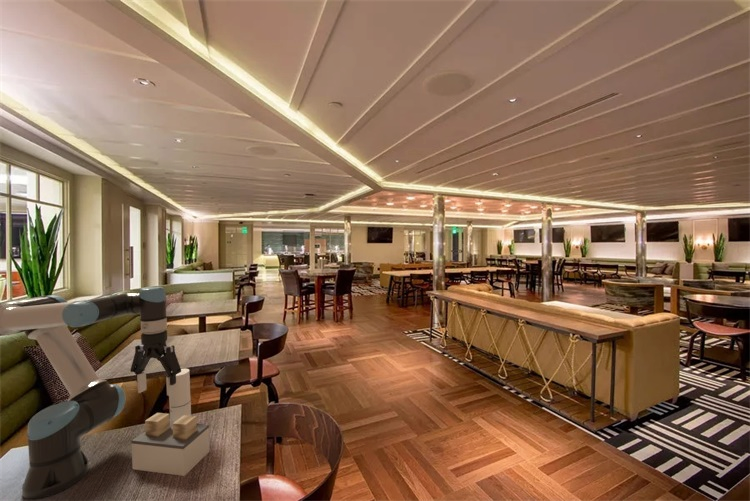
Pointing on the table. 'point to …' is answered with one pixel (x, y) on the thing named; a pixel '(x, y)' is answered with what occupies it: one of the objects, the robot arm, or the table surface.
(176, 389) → the cylindrical container
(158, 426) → the peg
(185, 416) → the peg
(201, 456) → the plinth
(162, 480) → the table surface
